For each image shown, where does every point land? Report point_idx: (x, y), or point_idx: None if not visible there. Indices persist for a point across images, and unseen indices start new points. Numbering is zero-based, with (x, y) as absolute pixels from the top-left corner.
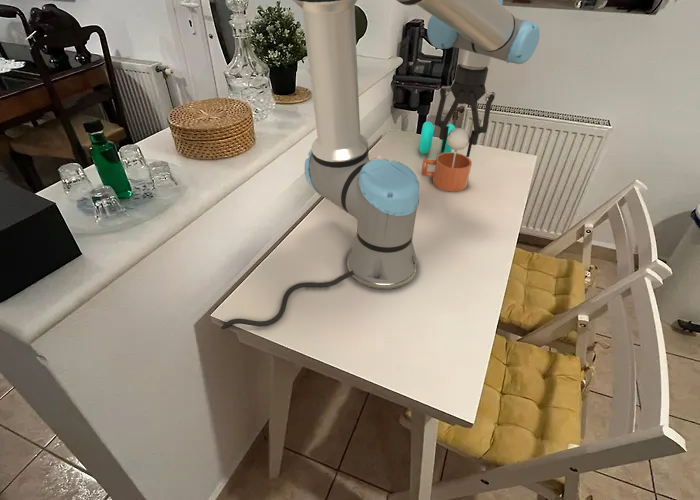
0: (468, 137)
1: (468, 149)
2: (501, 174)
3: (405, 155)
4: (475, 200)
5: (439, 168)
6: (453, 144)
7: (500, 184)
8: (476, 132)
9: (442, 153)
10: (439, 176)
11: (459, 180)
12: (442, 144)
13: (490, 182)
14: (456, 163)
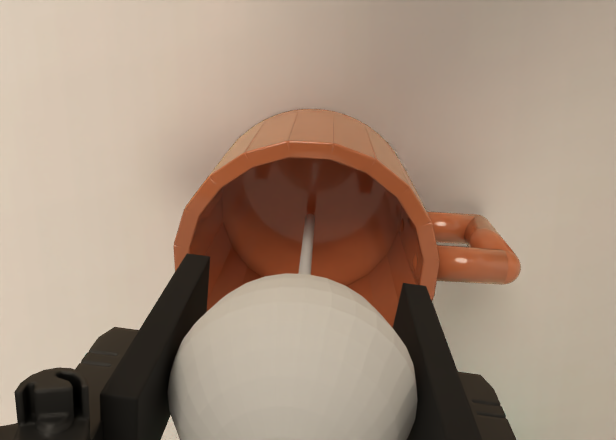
0: (179, 386)
1: (185, 288)
2: (43, 341)
3: (547, 430)
4: (152, 35)
5: (406, 178)
6: (340, 288)
7: (35, 244)
8: (56, 415)
9: None
10: (390, 153)
11: (254, 133)
12: (438, 327)
13: (89, 254)
14: None
